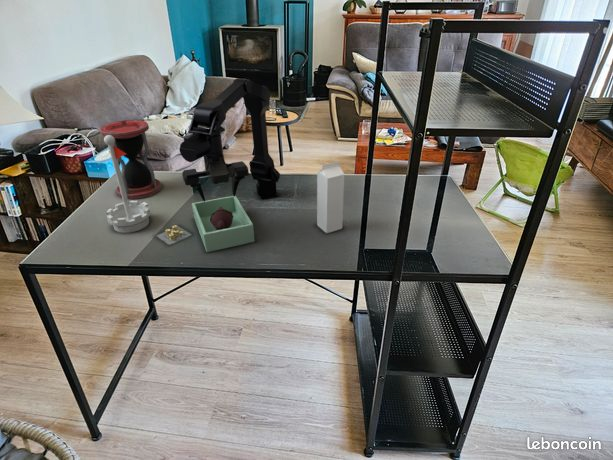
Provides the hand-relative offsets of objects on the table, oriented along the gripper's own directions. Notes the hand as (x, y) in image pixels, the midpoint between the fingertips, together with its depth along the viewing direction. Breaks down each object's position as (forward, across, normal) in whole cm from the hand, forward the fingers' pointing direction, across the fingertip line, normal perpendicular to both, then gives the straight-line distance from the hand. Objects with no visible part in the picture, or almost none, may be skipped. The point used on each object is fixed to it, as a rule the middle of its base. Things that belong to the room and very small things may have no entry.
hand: (219, 198), depth 126 cm
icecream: (+10, 0, 0) cm, 11 cm away
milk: (+11, +32, -12) cm, 36 cm away
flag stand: (+11, -27, +16) cm, 33 cm away
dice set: (+11, -15, +2) cm, 19 cm away
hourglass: (+11, -23, +42) cm, 50 cm away
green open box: (+11, 0, 0) cm, 11 cm away
